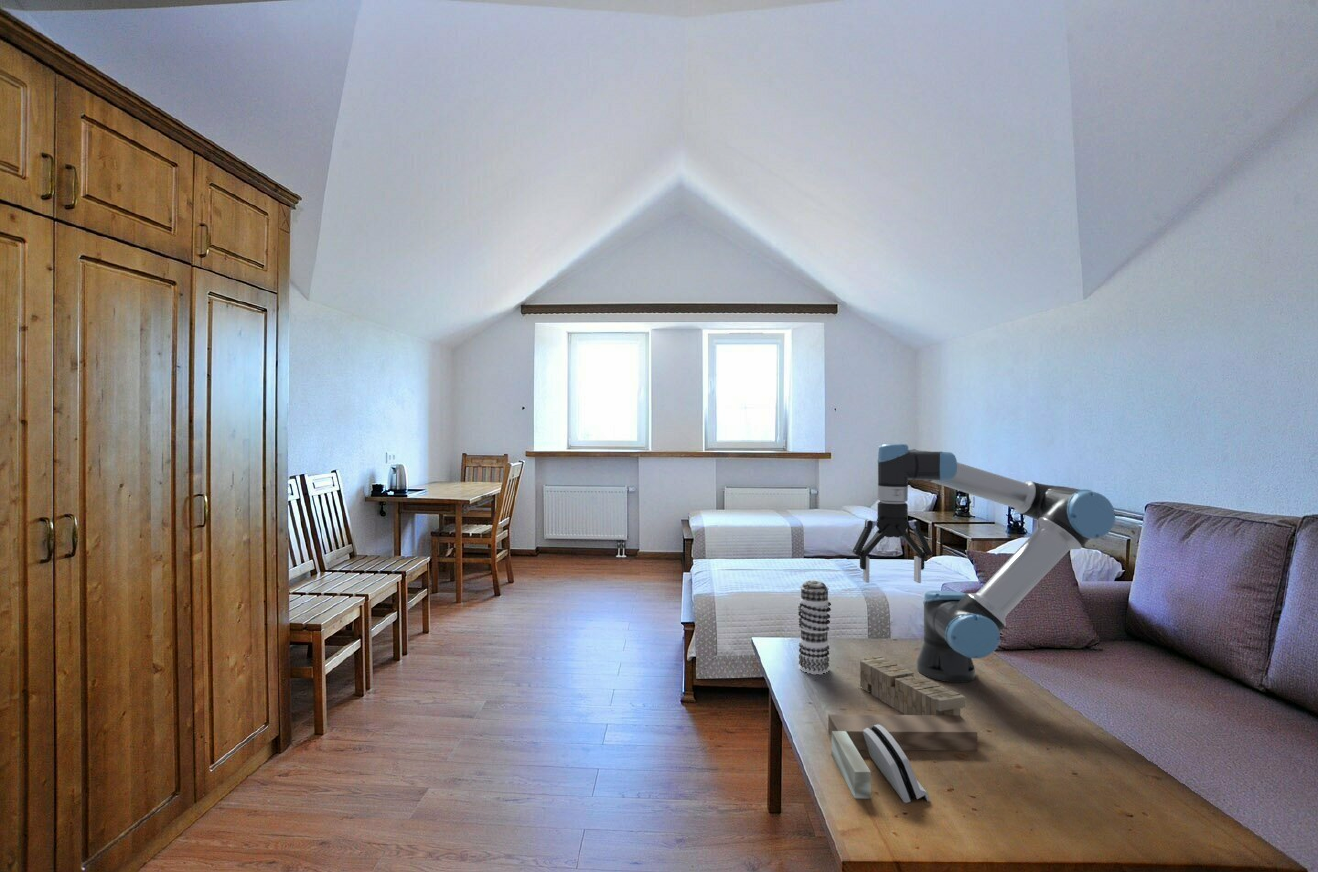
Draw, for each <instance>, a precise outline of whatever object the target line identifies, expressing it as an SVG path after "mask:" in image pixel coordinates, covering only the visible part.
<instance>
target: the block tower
mask: <svg viewBox="0 0 1318 872" xmlns="http://www.w3.org/2000/svg"><path fill="white" fill-rule="evenodd" d="M859 662H860V663H859V665H860V668H859V670H860V671H859V673H860V674H859V675H860V676H859V677H860V678H859V679H860V680H859V681H860V682H859V683H860V684H859V685H860V686H859V687H862V688H863V689H865V690H866V691H872V692H871V695H872V696H873V695H874V696H873V697H874V698H876V697H878V698H880V699H881V700H883V701H884V702H883V701H882V702H883V703H885V704H887V705H888V706H890V707H892V708H893V709H894V710H896V709H897V710H896V711H898V710H899V711H898V712H900V713H901V714H903V715H960V716H961V709H963V708H966V698H967V697H966V696H965V695H962V694H961V693H959V692H957V691H954V690H951V689H948V688H946V687H945V686H942V685H940V683H939V684H938V683H937V682H935V681H933V680H931V679H928V678H927V677H925V676H922V677H915V676H914V671H911V670H909V669H907V668H905V667H903V666H901V665H898V663H896V662H893V661H891V660H889V659H887V658H884V657H883V656H882V655H873V656H868V657H864V659H863V660H860V661H859ZM866 691H865V692H866ZM878 698H877V699H878ZM880 699H879V700H880ZM881 700H880V701H881Z"/></svg>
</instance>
